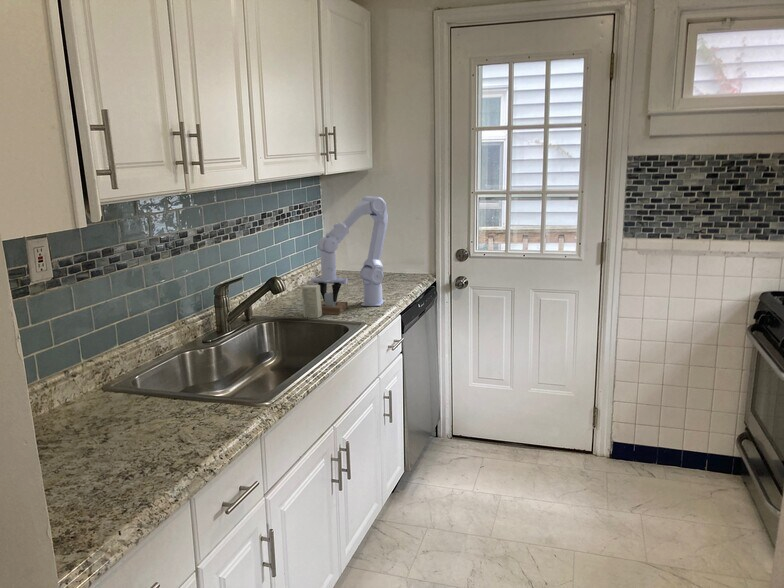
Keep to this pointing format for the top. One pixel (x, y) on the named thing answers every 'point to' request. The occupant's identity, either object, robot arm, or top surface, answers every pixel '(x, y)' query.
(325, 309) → the walnut socket block
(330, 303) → the peg
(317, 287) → the skincare box
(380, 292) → the robot arm
